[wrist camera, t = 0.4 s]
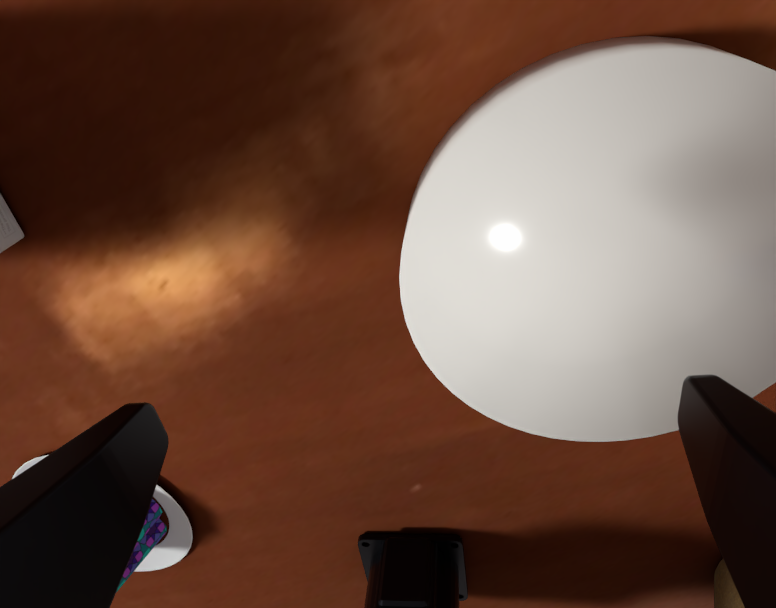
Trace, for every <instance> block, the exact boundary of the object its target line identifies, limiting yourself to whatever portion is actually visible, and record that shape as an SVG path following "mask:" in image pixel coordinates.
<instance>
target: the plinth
mask: <svg viewBox="0 0 776 608" xmlns="http://www.w3.org/2000/svg"><path fill="white" fill-rule="evenodd" d="M399 280H400V295H401V303H402V308H403V312H404V317H405V321H406V324H407V327H408V329H409V332H410V334H411V337H412V340H413V342H414V344H415V346H416V348H417V349H418V351H419V353H420V355H421V356H422V358H423V360H424V362H425V363H426V364H427V365H428V367H429V368H430V369H431V371H432V372H433V373H434V375H435V376H436V377H437V378H438V379H439V380H440V381H441V382H442V383H443V384H444V385H445V386H446V387H447V388H448V389H449V390H450V391H451V392H452V393H453V394H454V395H456V396H457V397H458V398H459V399H461V400H462V401H463V402H465V403H466V404H467V405H469V406H470V407H472V408H473V409H475V410H477V411H479V412H480V413H482V414H484V415H485V416H487V417H489V418H491V419H493V420H496V421H498V422H500V423H502V424H504V425H507V426H509V427H512V428H515V429H518V430H521V431H524V432H527V433H531V434H535V435H540V436H545V437H549V438H554V439H563V440H571V441H588V442H607V441H623V440H632V439H638V438H645V437H652V436H656V435H660V434H664V433H668V432H673V431H677V430H679V427H678V409H679V403H680V397H681V391H682V385H683V381H684V379H685V378H686V377H687V376H690V375H707V374H712V375H716V376H718V377H720V378H722V379H723V380H725V381H726V382H728V383H730V384H731V385H733V386H734V387H736V388H737V389H739V390H740V391H742V392H744V393H745V394H747V395H748V396H750V397H751V398H753V397H754V396H756V395H757V394H759V393H760V392H762V391H763V390H765V389H766V388H768V387H769V386H771V385H772V384H774V383H775V382H776V71H775V70H772V69H770V68H767V67H765V66H762V65H760V64H757V63H755V62H753V61H750V60H747V59H745V58H742V57H739V56H737V55H734V54H731V53H729V52H726V51H723V50H720V49H718V48H715V47H712V46H710V45H705V44H701V43H697V42H692V41H688V40H684V39H680V38H668V37H655V36H637V37H620V38H611V39H606V40H601V41H596V42H591V43H585V44H581V45H578V46H575V47H572V48H569V49H566V50H563V51H560V52H557V53H554V54H551V55H549V56H547V57H545V58H543V59H541V60H538V61H536V62H534V63H532V64H530V65H528V66H526V67H524V68H522V69H520V70H519V71H517V72H515V73H514V74H512V75H511V76H509V77H508V78H506V79H504V80H503V81H501V82H500V83H498V84H497V85H495V86H494V87H493V88H491V89H490V90H489V91H488V92H486V93H485V94H484V95H483V96H482V97H480V98H479V99H478V100H477V101H476V102H474V103H473V104H472V105H471V106H470V107H469V108H468V109H467V110H466V111H465V112H464V113H463V114H462V115H461V116H460V117H459V119H458V120H457V121H456V122H455V123H454V124H453V125H452V126H451V127H450V129H449V130H448V131H447V133H446V134H445V135H444V137H443V138H442V140H441V141H440V142H439V144H438V145H437V146H436V148H435V149H434V151H433V153H432V155H431V156H430V158H429V160H428V162H427V164H426V166H425V167H424V169H423V171H422V173H421V176H420V178H419V181H418V183H417V186H416V189H415V191H414V194H413V197H412V201H411V205H410V210H409V214H408V218H407V224H406V229H405V235H404V240H403V246H402V251H401V263H400V274H399Z"/></svg>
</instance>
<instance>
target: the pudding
mask: <svg viewBox="0 0 776 608" xmlns="http://www.w3.org/2000/svg"><path fill="white" fill-rule="evenodd" d="M46 456H48V455H45V456H41V457H38V458H34V459H32V460H30V461H28V462H26V463H24V464H23V465H22V466H21V467H20V468H19V469H18V470H17V471H16V473H15V474H14V476H13V478H15V477H16V476H18V475H19V474H21V473H22V472H24V471H25V470H27V469H28V468H30V467H31V466H33V465H34V464H36V463H37V462H39V461H40V460H42V459H43V458H45V457H46ZM13 478H12V479H13ZM153 497H154V498H155V499H156V500H157V501H158V502H159V503H160V504H161V506H162V507H163V509H164V510H165V512H166V514H167V517H168V519H169V532H168V534H167V536H166V538H165V539H164V540H163V541H162V542H161V543H159V544H158V545H156V544H157V543H158V542H159V541H160V539H161V538H162V537H163V536H164V535H165V533H166V532H167V530H166V525H165V524H164V523H163V522H162V521H161V520H160V519H159V518H160V516H161V514H162V510H161V508H160V506H159V505H158V504H157V503H156V502H155V501H154V500H153V499H152V501H151V504H150V508H149V511H148V514H147V517H146V520H145V523H144V526H143V528H142V531H141V533H140V536H139V539H138V541H137V543H136V546H135V548H134V550H133V553H132V555H131V558H130V560H129V562H128V565H127V567H126V570H125V572H124V574H123V577H122V579H121V581H120V584H119V586H118V589H117V591H118V590H119V588H120V587H121V586H122V585H123V584H124V582H125V581H126V580H127V579H128V578H129V577H130V575H131V574H132V573H133V572H134V571H152V570H159V569H163V568H166V567H169V566H172V565H174V564H175V563H177V562H179V561H180V560H181V559H182V558H184V557H185V556H186V555H187V553H188V551H189V550H190V548H191V544H192V539H193V536H192V528H191V525H190V522H189V520H188V518H187V516H186V514H185V513H184V511H183V510H182V508H181V507H180V506H179V505H178V503H177V502H176V501H175V500H174V499H173V498H172V497H171V496H170V495H169V494H168V493H167V492H165V491H164V490H163V489H162V488H161V487H159V486H158V485H156V488H155V491H154V494H153ZM155 545H156V546H155ZM117 591H116V592H117Z"/></svg>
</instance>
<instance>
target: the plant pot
mask: <svg viewBox="0 0 776 608" xmlns="http://www.w3.org/2000/svg"><path fill="white" fill-rule="evenodd" d="M714 608H745V607H744V605H743V603H742V600H741V598H740V596H739V594H738V591H737V589H736V587H735V584H734V582H733V580H732V578H731V575H730V573H729V571H728V568H727V566H726V564H725V562H724V559H722V560H721V562H720V563H719V564H718V566H717V568H716V570H715V574H714Z"/></svg>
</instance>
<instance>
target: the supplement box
mask: <svg viewBox="0 0 776 608" xmlns="http://www.w3.org/2000/svg"><path fill="white" fill-rule="evenodd" d="M22 238H24V234H23V232H22V230H21V228H20V226H19V225H18V223H17V221H16V220H15V218H14V216H13V214H12V213H11V211H10V209H9V207H8V206H7V204H6V202H5V200H4V199H3V197H2V195H1V194H0V253H1V252H3V251H4V250H6V249H7V248H9V247H10V246H12V245H13V244H15V243H16V242H18V241H19V240H21V239H22Z"/></svg>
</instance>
